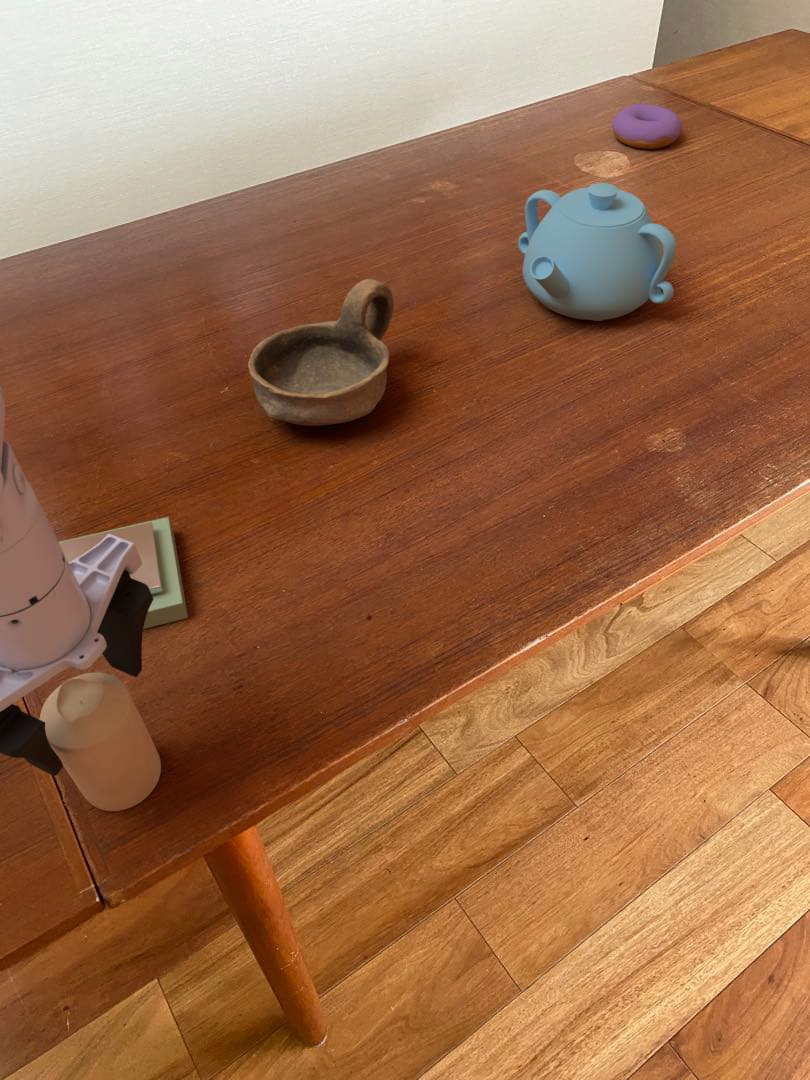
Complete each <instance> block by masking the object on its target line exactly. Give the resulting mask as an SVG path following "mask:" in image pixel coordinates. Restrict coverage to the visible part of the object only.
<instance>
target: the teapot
mask: <svg viewBox="0 0 810 1080" xmlns="http://www.w3.org/2000/svg"><path fill="white" fill-rule="evenodd" d="M539 201H542V202H545V203H546V204H548V205H549V206H550V207H551V208H550V209H549V210H548V212H547V213H546V214H545V216H544V217H543V218H542V220H540V221H539V213H538V204H539ZM649 213H650V212H649V211H648V209H647V208H646V206H645V203H643V201H642V200H640V199H639V198H638V196H636V195H634V194H633V193H630V192H628V191H625V190H622V189H619V188H618V187H617V186H616V185H614V184H611V183H607V182H596V183H593V184H590V185H589V186H588V187H581V188H576V189H574V190H571V191H569V192H567V193H566V194H564V195H563V196H560V195H559V194H558V193H557V192H555V191H553V190H550V189H541V190H538V191H535V192H534V193H532V194H531V195H530V196H529V197H528V198H527V200H526V203H525V207H524V220H525V227H526V231H524V232H523V233H521V234H520V235H519V238H518V240H517V247H518V249H519V251H520V252H521V253H522V254H523V255H524V258H523V263H522V277H523V280H524V283H525V285H526V287H527V288H528V290H529V291H530V292H531V293H532V295H533V297H535V298H536V299H537V300H538V302H540V303H541V304H542V305H543V306H545V308H547V309H549V310H550V311H553V312H555V313H556V314H559V315H562V316H564V317H568V318H572V319H577V320H586V321H594V322H602V321H605V320H613V319H616V318H620V317H623V316H626V315H628V314H630V313H632V312H634V311H636V310H637V309H638V308H640V307H641V306H642V305H644V304H646V303H647V302H649V300H650V301H651V302H652V303H653V304H660V305H661V304H666V303H668V302H669V301H671V300H672V297H674V287H673V285H672V283H670V281H667V280H664V279H665V278H666V276H667V273H668V272H669V270H670V268H671V266H672V264H673V262H674V260H675V257H676V253H677V240H676V238H675V236H674V234H672V232H671V231H670V230H669V229H668V228H667V227H665V226H664V225H661V224H659V223H654V221H653V219H652V217H651V215H650V214H649ZM661 290H662V291H661Z"/></svg>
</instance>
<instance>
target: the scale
mask: <svg viewBox="0 0 810 1080" xmlns="http://www.w3.org/2000/svg"><path fill="white" fill-rule="evenodd" d="M149 522H152V524H153V527H154V533H155V540H156V547H157V553H158V560H159V567H160V574H161V581H162V587H163V591H162V592H158V593H154V594H152V597H153V601H152V603H151V605H150V608H149V610H148V613H147V616H146V619H145V623H144V627H143V630H147V629H149V628H153V627H157V626H161V625H166V624H169V623H174V622H177V621H182V620H185V619H188V618H189V615H188V609H187V608H188V607H187V603H186V597H185V591H184V586H183V580H182V573H181V567H180V560H179V555H178V550H177V549H178V548H177V544H176V537H175V532H174V529H173V526H172V523H171V520H170V517H169V516H166V517H162V518H157V519H152V520H148V521H144V522H143V521H142V522H139V523H135V524H130V525H127V526H121V527H118V528H113V529H109V530H105V531H101V532H96V533H91V534H87V535H83V536H78V537H74V538H70V539H69V538H68V539H65V540H61V541H58V542H59V544H60V546H61V548H62V544H61V543H62V542H66V541H71V540H75V539H79V538H84V537H88V536H92V535H97V534H101V533H105V532H110V531H114V530H119V529H123V528H127V527H132V526H136V525H140V524H145V523H149Z"/></svg>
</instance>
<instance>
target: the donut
mask: <svg viewBox="0 0 810 1080" xmlns="http://www.w3.org/2000/svg"><path fill="white" fill-rule="evenodd" d="M611 125H612V126H611V128H612V132H613V135H614V137H615V138H616V139H617V140H618V141H619V142H621V143H622V144H623V145H626V146H629V147H632V148H637V149H645V150H651V149H653V150H654V149H661V148H665V147H666V146H669V145H671V144H673V143H674V142H675V141H676V140H677V139H678V137H679V136H680V134H681V133H682V122H681V119H680V117H679V115H677V113H675V112H674V111H673V110H671V109H669V108H666V107H663V106H661V105H657V104H652V103H636V104H631V105H629V106H626V107H625V108H623V109H621V110H619V111H618V112H617V113H616V114H615V116H614V118H613V120H612V124H611Z"/></svg>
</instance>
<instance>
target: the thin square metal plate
mask: <svg viewBox="0 0 810 1080" xmlns="http://www.w3.org/2000/svg"><path fill="white" fill-rule="evenodd" d="M108 534H112V535H114V536H117V537H120V538H122V539H125V540H127V541H130V542H133V543H134V544H135V546H136V549H137V551H138V554H139V556H140V559H141V561H142V565H141V566H140V567H139V568H138V569H137V571H136V572H135V573H133V574H130V577H131V578H132V579H135V580H137V581H140V582H142V583H144V584H146V585H147V586H148V587H149V589H150V591H151V594H154V593H158V592H162V591H163V587H162V581H161V574H160V567H159V560H158V553H157V547H156V540H155V533H154V527H153V524H152V522H149V523H145V524H140V525H136V526H132V527H127V528H123V529H119V530H114V531H110V532H105V533H101V534H97V535H92V536H88V537H84V538H79V539H75V540H71V541H66V542H62V543H61V544H62V550H63V552H64V554H65V557H66V559H67V561H68V563H69V562H71V561H72V560H74V559H76V558H77V557H79V556H81V555H82V554H84V553H85V552H87V551H88V550H90V549H92V548H93V547H94V546H95V545H97V544H98V543H99V542H100V541H101V540H103V539H104V538H105V537H106V536H107V535H108Z"/></svg>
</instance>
